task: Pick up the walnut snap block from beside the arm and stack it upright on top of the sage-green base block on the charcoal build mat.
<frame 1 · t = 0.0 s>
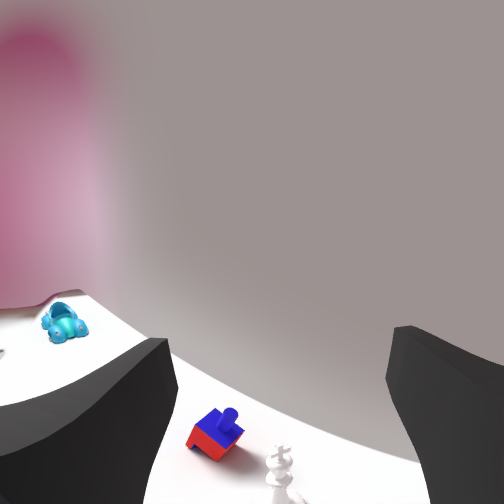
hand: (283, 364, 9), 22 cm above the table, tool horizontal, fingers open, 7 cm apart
toy car: (64, 330, 64), on the table
toy building block: (216, 449, 30), on the table
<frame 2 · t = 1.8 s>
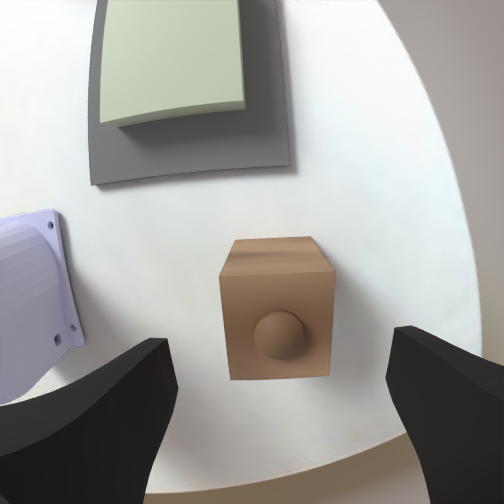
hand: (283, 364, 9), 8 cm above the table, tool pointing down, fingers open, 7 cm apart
base block: (176, 49, 13), resting on build mat
walnut snap block: (274, 278, 17), on the table
build mat: (178, 52, 14), on the table
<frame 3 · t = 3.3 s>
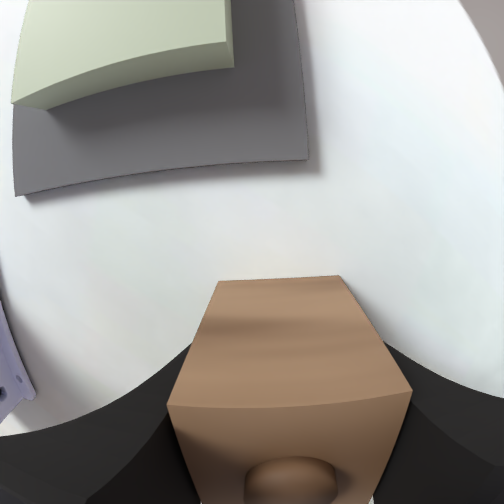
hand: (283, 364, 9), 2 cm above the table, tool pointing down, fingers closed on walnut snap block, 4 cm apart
walnut snap block: (280, 338, 11), on the table, touching gripper
when the fingers open (5 cm above the table, at t = 8.2 s): walnut snap block drops 1 cm, resting on base block.
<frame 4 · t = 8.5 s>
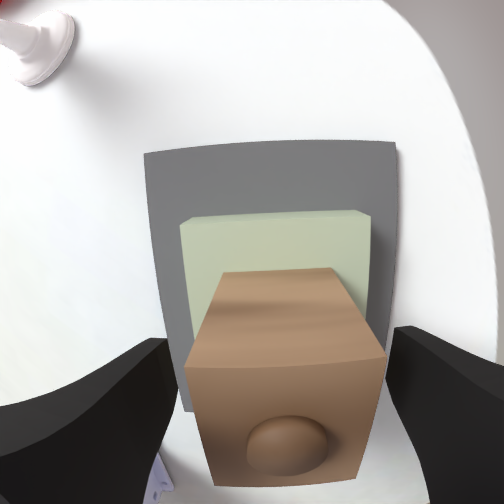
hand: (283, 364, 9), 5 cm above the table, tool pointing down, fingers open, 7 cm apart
base block: (278, 301, 14), resting on build mat
walnut snap block: (279, 324, 12), point 2 cm above the table, touching base block
build mat: (277, 297, 14), on the table
chess piece: (44, 48, 12), on the table
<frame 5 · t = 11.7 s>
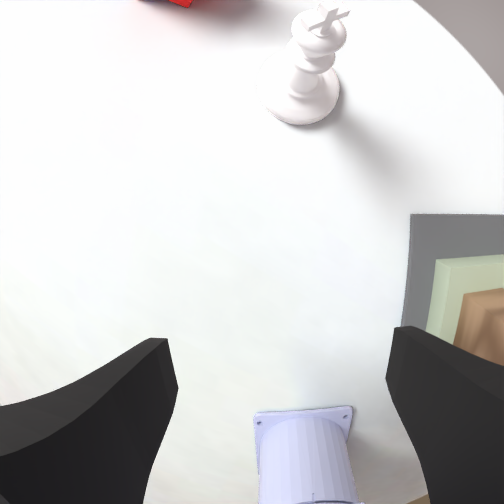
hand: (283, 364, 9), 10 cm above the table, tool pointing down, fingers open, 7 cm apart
base block: (464, 307, 19), resting on build mat
walnut snap block: (477, 320, 17), point 2 cm above the table, touching base block
build mat: (461, 305, 19), on the table
chess piece: (298, 87, 16), on the table
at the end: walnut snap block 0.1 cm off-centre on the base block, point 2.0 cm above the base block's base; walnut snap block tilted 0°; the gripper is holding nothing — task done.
